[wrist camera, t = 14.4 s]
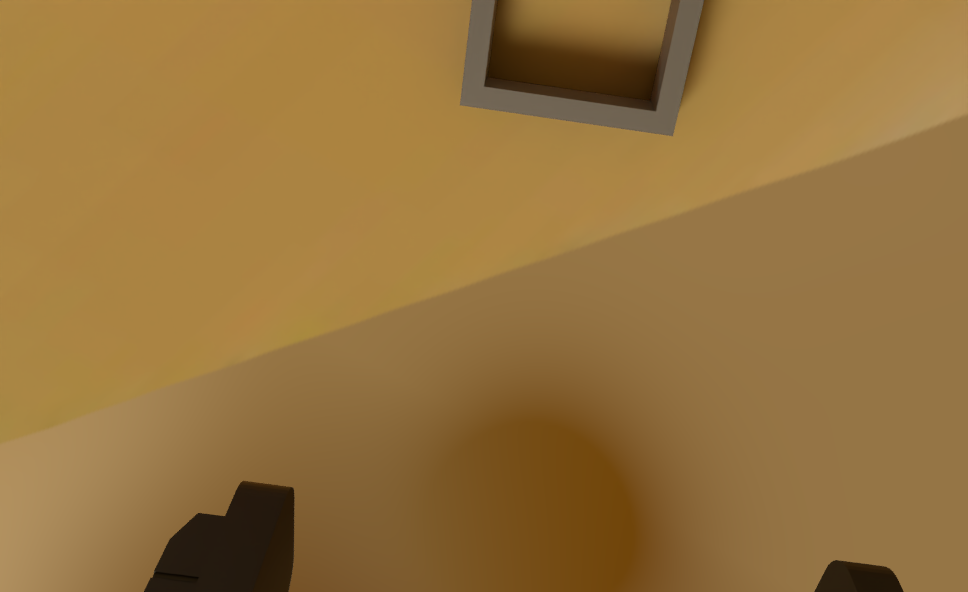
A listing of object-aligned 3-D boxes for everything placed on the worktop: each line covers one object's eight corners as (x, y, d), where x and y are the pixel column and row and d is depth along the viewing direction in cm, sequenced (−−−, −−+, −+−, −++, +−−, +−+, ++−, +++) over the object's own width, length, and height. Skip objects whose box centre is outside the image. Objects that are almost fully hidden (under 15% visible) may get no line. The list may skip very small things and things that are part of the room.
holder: (465, 95, 40) (460, 105, 38) (491, -132, 36) (487, -136, 34) (665, 124, 40) (672, 136, 38) (716, -100, 36) (727, -102, 34)
